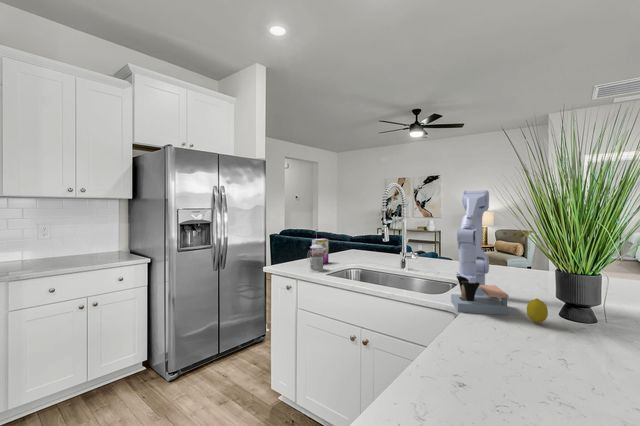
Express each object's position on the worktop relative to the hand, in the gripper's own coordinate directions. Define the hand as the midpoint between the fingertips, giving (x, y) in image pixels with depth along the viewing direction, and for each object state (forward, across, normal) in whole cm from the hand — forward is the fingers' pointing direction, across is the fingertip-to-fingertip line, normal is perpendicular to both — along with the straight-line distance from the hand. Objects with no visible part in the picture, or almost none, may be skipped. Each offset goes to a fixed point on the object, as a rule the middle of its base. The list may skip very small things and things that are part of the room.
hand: (467, 298), depth 115 cm
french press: (+4, -57, -72) cm, 92 cm away
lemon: (+4, +13, +18) cm, 22 cm away
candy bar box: (+4, -79, -74) cm, 108 cm away
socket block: (+3, 0, +4) cm, 5 cm away
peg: (+3, 0, 0) cm, 3 cm away
